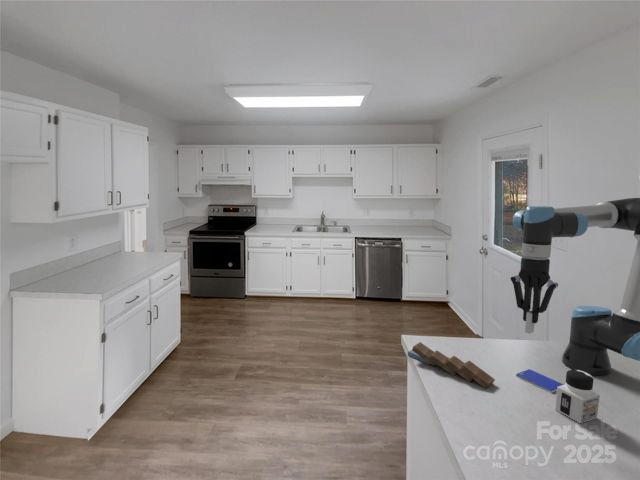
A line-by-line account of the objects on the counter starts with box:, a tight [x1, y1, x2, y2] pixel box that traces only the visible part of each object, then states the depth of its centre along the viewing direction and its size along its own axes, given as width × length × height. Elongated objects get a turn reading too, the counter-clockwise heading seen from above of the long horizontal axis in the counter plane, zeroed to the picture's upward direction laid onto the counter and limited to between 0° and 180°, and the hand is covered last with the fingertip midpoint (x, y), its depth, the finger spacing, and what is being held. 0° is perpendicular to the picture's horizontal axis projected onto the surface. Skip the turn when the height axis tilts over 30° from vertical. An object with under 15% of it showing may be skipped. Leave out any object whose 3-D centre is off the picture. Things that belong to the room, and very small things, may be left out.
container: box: [554, 369, 601, 424], centre depth 109 cm, size 8×8×13 cm
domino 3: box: [446, 355, 475, 383], centre depth 132 cm, size 2×5×10 cm
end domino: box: [407, 349, 431, 365], centre depth 146 cm, size 2×5×10 cm
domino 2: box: [430, 350, 458, 377], centre depth 137 cm, size 2×5×10 cm
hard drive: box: [515, 368, 565, 394], centre depth 129 cm, size 2×8×12 cm
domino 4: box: [461, 360, 496, 389], centre depth 128 cm, size 2×5×10 cm
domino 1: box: [411, 341, 437, 367], centre depth 142 cm, size 2×5×10 cm
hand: (529, 331), depth 115 cm, fingers closed
